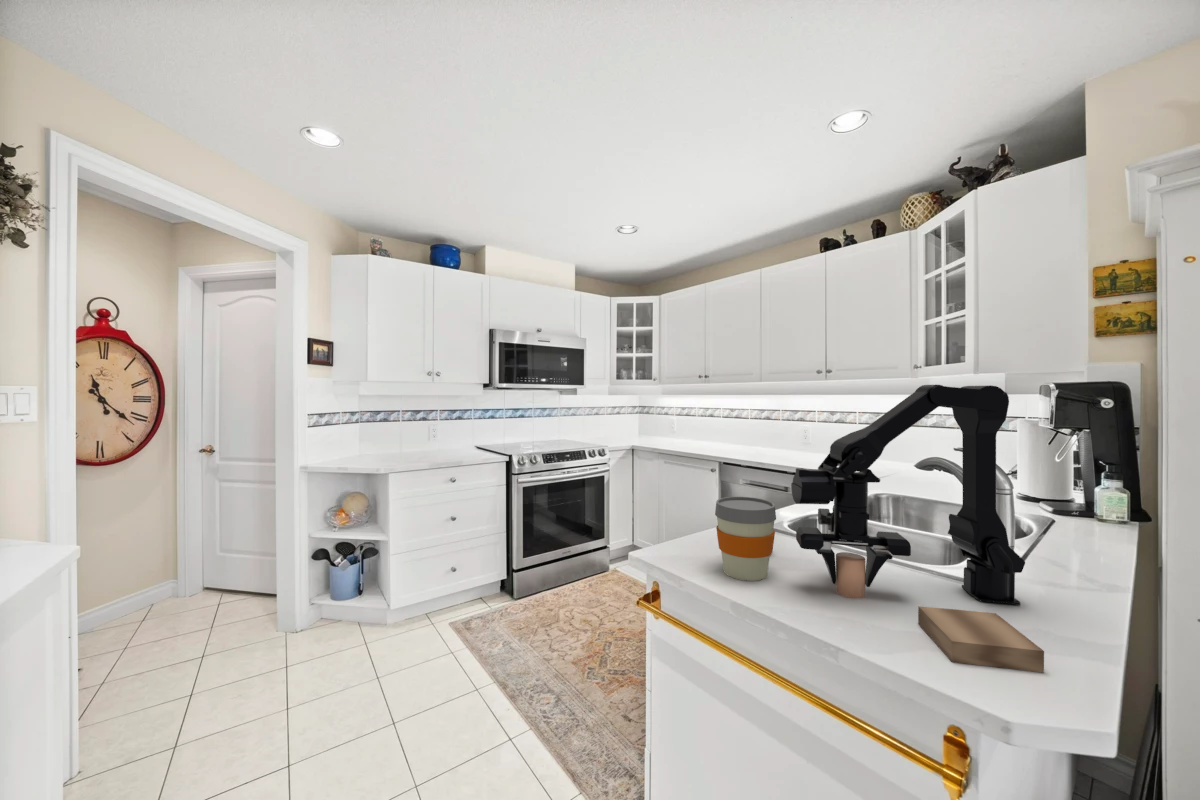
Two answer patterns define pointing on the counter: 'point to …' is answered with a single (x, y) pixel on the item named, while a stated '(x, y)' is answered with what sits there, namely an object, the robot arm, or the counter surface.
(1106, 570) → the counter surface
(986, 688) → the counter surface
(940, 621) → the walnut block
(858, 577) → the tan cylinder
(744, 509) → the reusable coffee cup
